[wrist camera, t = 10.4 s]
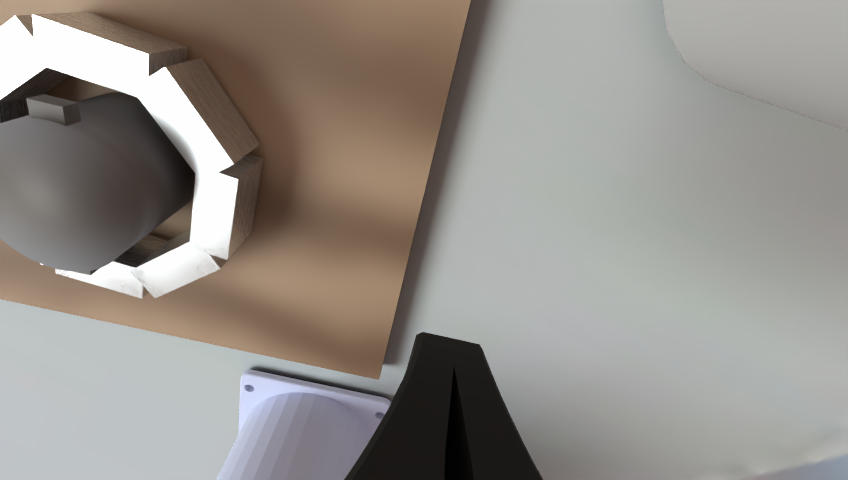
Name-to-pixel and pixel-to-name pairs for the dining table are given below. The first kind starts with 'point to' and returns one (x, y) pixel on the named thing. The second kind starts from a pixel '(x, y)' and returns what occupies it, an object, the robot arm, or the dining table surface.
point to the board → (279, 182)
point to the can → (769, 50)
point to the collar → (173, 111)
